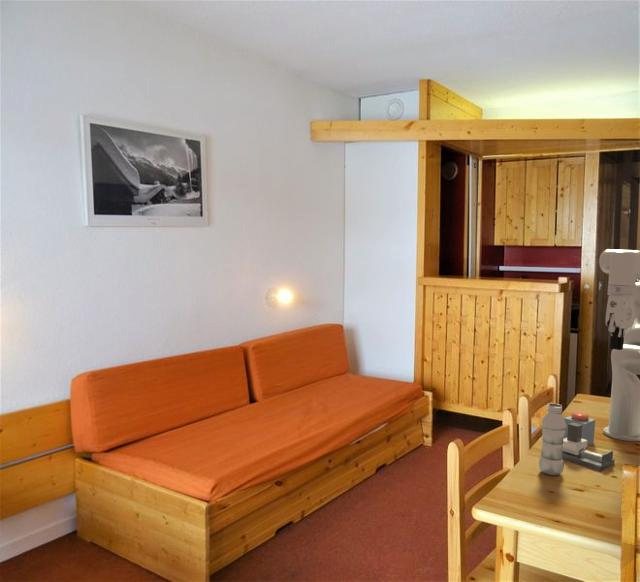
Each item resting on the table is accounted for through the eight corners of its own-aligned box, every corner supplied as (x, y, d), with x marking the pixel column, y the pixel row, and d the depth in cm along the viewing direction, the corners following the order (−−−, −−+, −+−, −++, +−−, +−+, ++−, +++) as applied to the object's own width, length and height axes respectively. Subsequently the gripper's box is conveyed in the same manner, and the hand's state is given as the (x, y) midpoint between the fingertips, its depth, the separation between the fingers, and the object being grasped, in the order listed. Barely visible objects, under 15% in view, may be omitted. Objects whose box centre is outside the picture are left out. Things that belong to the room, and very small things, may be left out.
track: (569, 450, 190) (570, 436, 190) (614, 464, 180) (615, 449, 179) (555, 456, 185) (556, 442, 184) (600, 471, 174) (601, 456, 174)
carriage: (571, 446, 189) (573, 420, 188) (586, 451, 185) (588, 424, 184) (559, 451, 184) (561, 424, 184) (575, 456, 181) (577, 428, 180)
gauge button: (575, 425, 201) (576, 411, 201) (590, 429, 197) (591, 415, 197) (567, 428, 198) (568, 413, 197) (582, 432, 194) (584, 417, 193)
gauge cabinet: (573, 437, 203) (574, 414, 202) (593, 443, 198) (595, 419, 197) (561, 441, 198) (563, 418, 197) (582, 448, 193) (584, 423, 192)
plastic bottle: (565, 479, 168) (570, 409, 166) (539, 476, 169) (544, 407, 167) (560, 470, 174) (565, 403, 172) (536, 467, 175) (540, 401, 173)
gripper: (623, 293, 178) (618, 353, 179) (644, 290, 187) (639, 348, 189) (597, 290, 183) (593, 349, 185) (619, 288, 193) (615, 344, 195)
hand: (616, 349), depth 187 cm, fingers closed
